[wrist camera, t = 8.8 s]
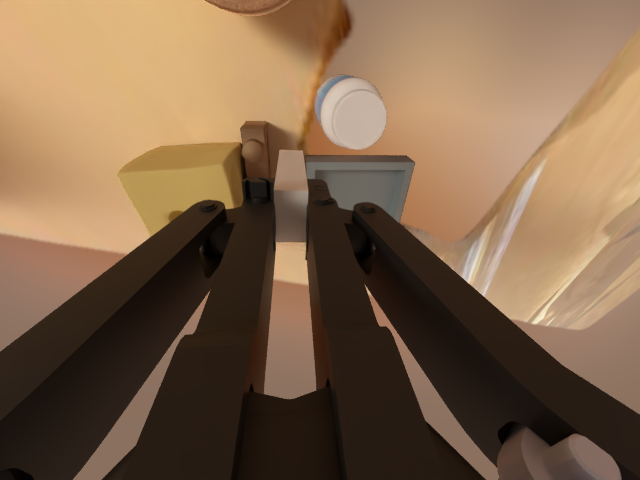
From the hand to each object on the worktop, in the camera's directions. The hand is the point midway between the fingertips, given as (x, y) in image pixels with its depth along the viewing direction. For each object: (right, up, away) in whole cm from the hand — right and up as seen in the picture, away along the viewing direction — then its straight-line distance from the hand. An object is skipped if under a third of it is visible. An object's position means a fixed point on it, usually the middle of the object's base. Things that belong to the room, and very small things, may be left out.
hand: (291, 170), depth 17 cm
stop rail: (-6, +5, +17) cm, 18 cm away
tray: (+7, +1, +21) cm, 22 cm away
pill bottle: (+4, +12, +13) cm, 18 cm away
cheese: (-13, +4, +17) cm, 22 cm away
